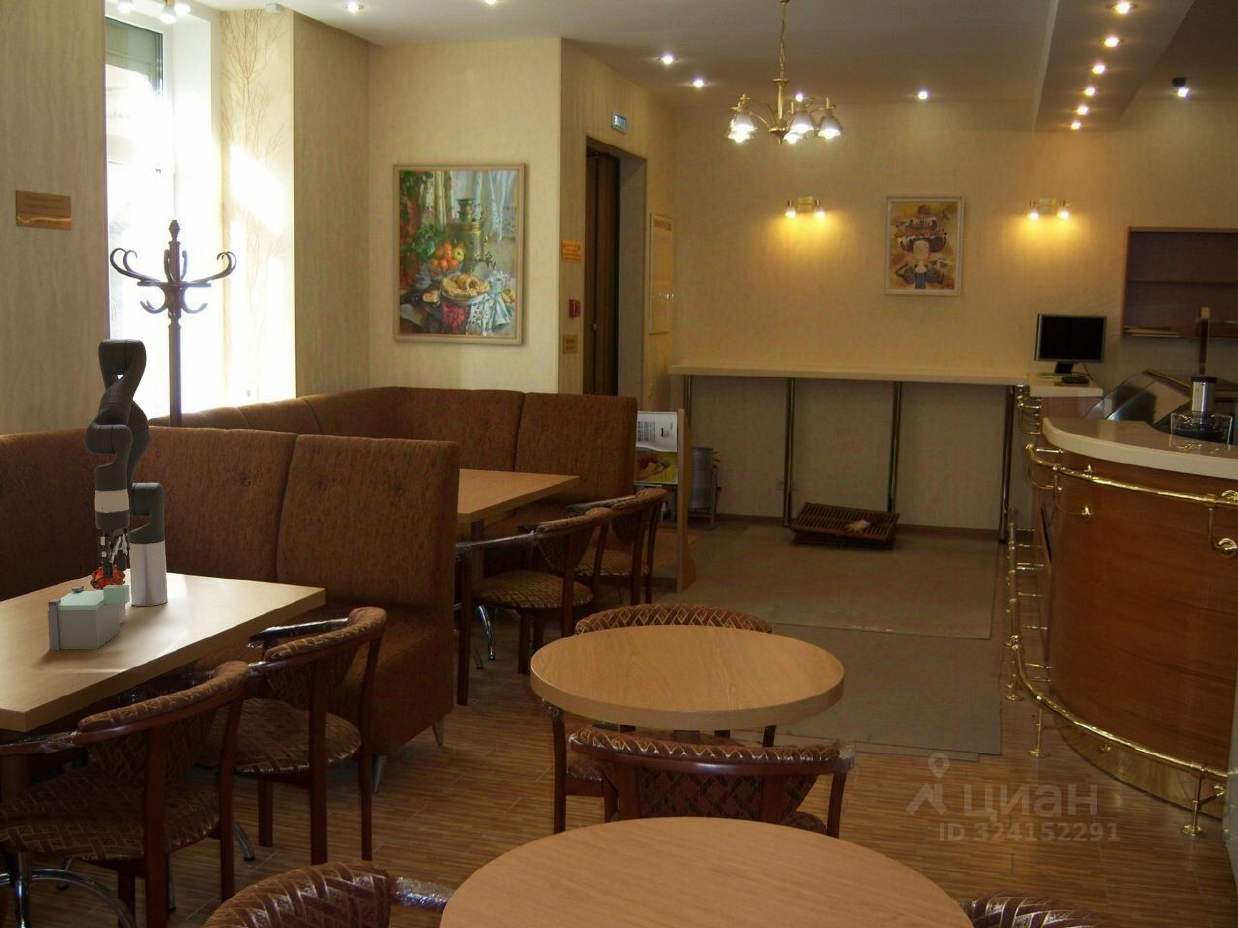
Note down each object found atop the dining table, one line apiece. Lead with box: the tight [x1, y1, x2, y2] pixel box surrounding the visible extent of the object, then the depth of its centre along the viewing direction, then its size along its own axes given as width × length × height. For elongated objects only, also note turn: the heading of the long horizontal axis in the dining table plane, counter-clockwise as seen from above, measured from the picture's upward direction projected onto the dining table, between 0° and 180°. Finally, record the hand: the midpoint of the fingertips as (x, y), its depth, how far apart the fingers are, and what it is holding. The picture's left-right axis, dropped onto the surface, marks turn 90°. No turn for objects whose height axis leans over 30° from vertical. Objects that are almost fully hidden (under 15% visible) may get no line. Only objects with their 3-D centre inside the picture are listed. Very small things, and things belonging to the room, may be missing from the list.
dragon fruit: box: [89, 564, 126, 590], centre depth 343 cm, size 8×8×12 cm
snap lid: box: [58, 584, 131, 611], centre depth 290 cm, size 14×16×4 cm
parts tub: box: [47, 585, 121, 651], centre depth 290 cm, size 17×11×12 cm, turn 3°
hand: (115, 574), depth 289 cm, fingers open, 8 cm apart
